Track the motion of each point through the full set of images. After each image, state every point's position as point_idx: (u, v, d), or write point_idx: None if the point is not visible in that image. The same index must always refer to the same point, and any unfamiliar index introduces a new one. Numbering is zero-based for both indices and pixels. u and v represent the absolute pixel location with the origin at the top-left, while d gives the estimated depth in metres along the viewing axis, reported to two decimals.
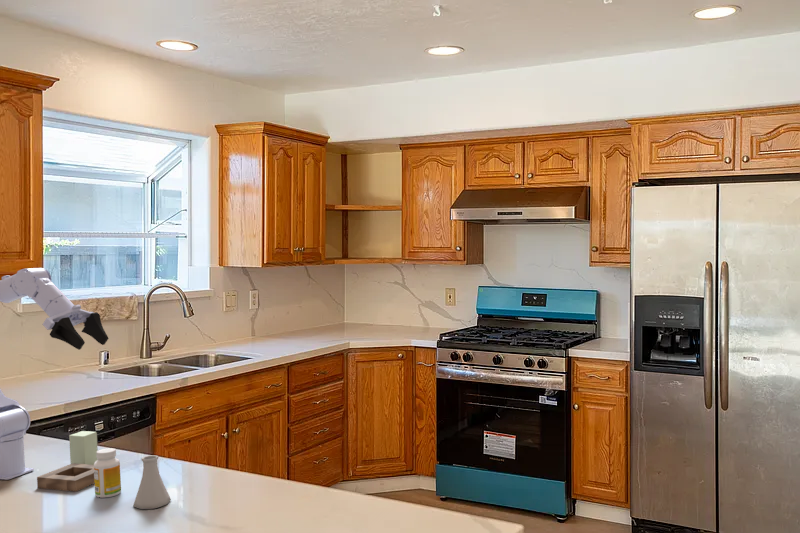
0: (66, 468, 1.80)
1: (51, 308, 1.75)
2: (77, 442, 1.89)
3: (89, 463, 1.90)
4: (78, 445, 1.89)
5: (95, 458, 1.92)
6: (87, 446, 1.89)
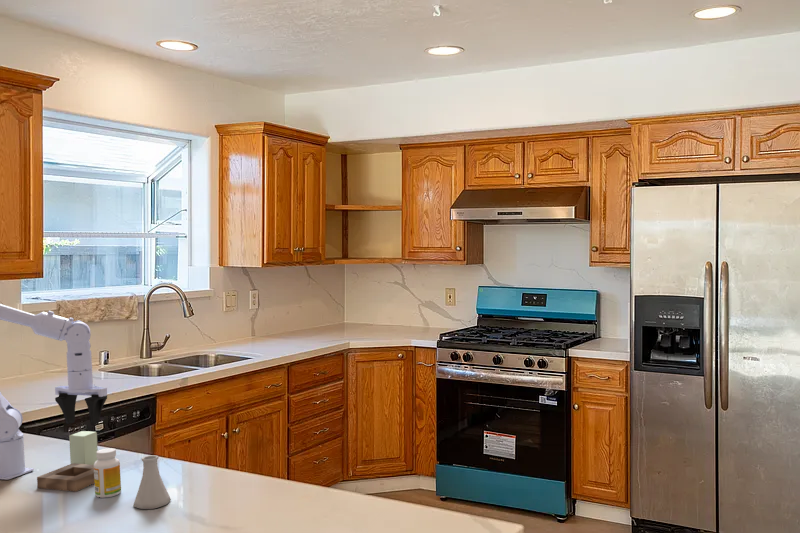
0: (66, 468, 1.80)
1: (90, 374, 1.90)
2: (77, 442, 1.89)
3: (89, 463, 1.90)
4: (78, 445, 1.89)
5: (95, 458, 1.92)
6: (87, 446, 1.89)
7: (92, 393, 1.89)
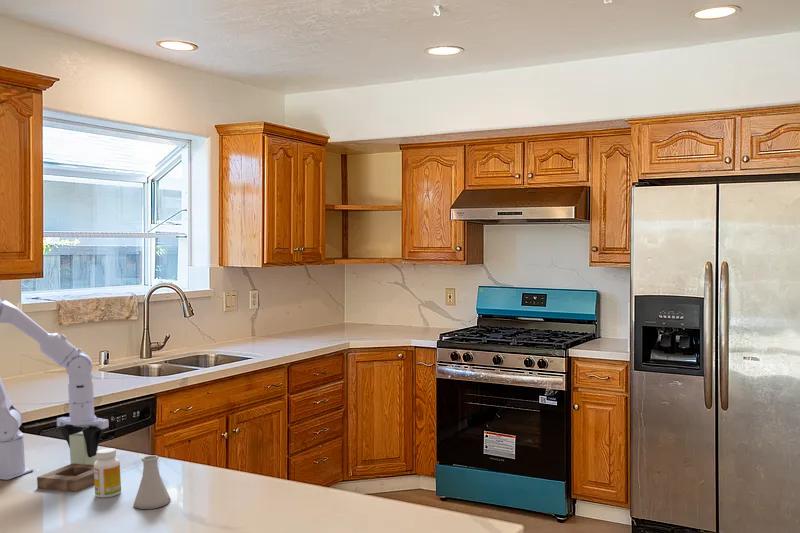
0: (66, 468, 1.80)
1: (91, 406, 1.90)
2: (77, 442, 1.89)
3: (89, 463, 1.90)
4: (78, 445, 1.89)
5: (95, 458, 1.92)
6: None
7: (94, 425, 1.90)
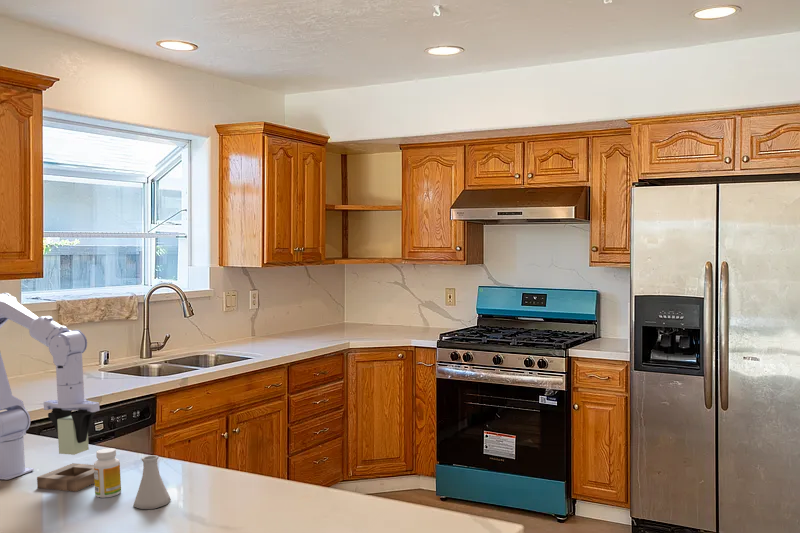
0: (66, 468, 1.80)
1: (81, 388, 1.77)
2: (66, 426, 1.76)
3: (79, 449, 1.77)
4: (67, 429, 1.75)
5: (85, 444, 1.79)
6: None
7: (83, 408, 1.76)
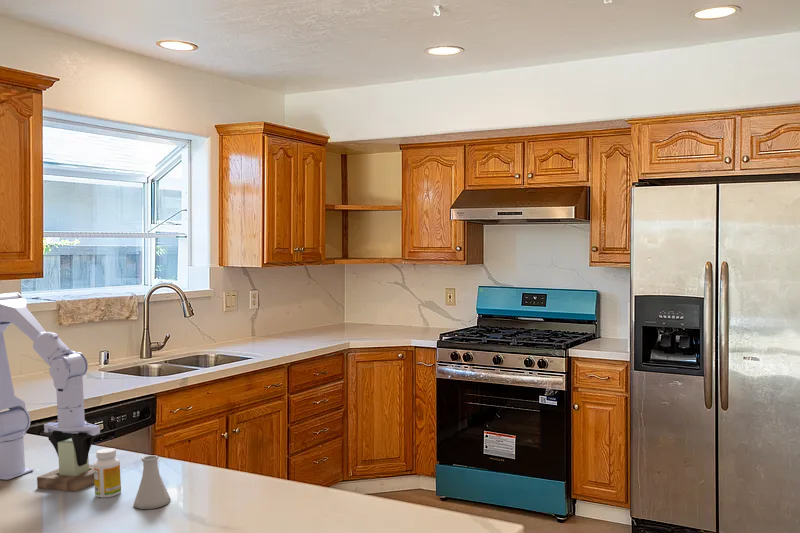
0: None
1: (81, 411, 1.76)
2: (67, 449, 1.75)
3: (79, 473, 1.76)
4: (68, 453, 1.75)
5: (86, 467, 1.78)
6: None
7: (84, 431, 1.75)
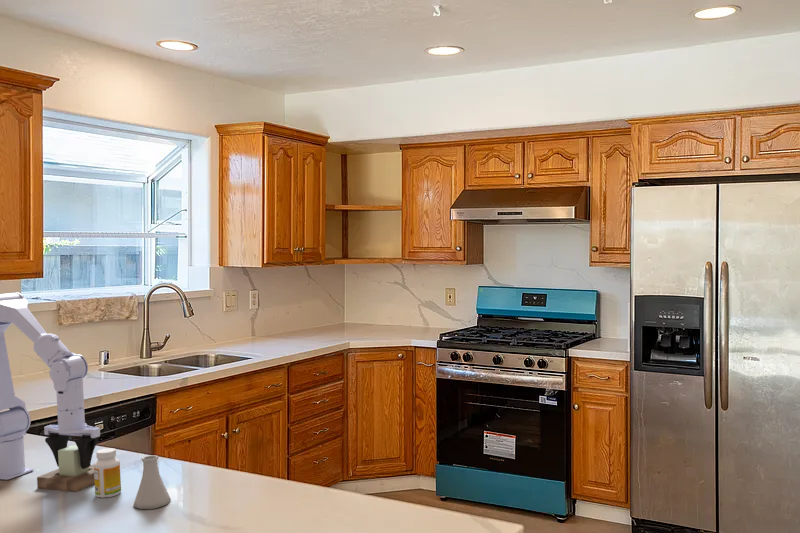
0: None
1: (81, 413, 1.76)
2: (67, 457, 1.75)
3: None
4: (68, 461, 1.75)
5: None
6: (77, 462, 1.75)
7: (84, 434, 1.75)
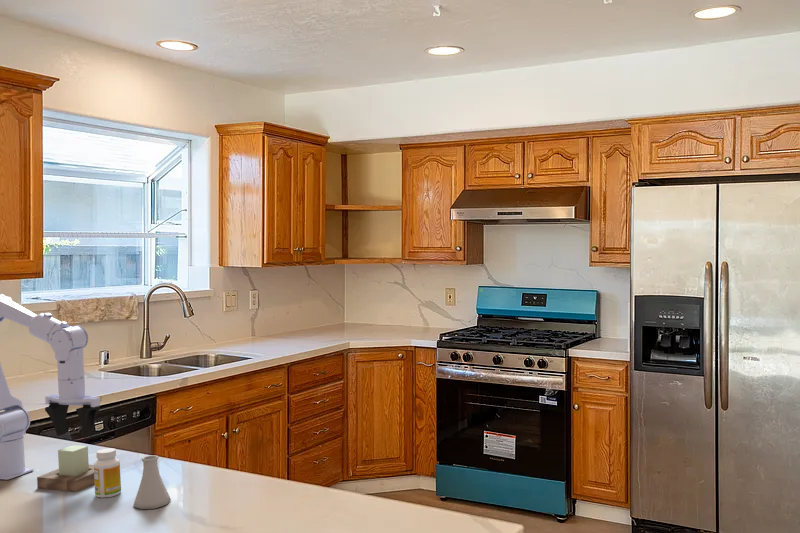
0: None
1: (82, 383, 1.78)
2: (67, 457, 1.75)
3: None
4: (68, 461, 1.75)
5: None
6: (77, 462, 1.75)
7: (84, 403, 1.78)
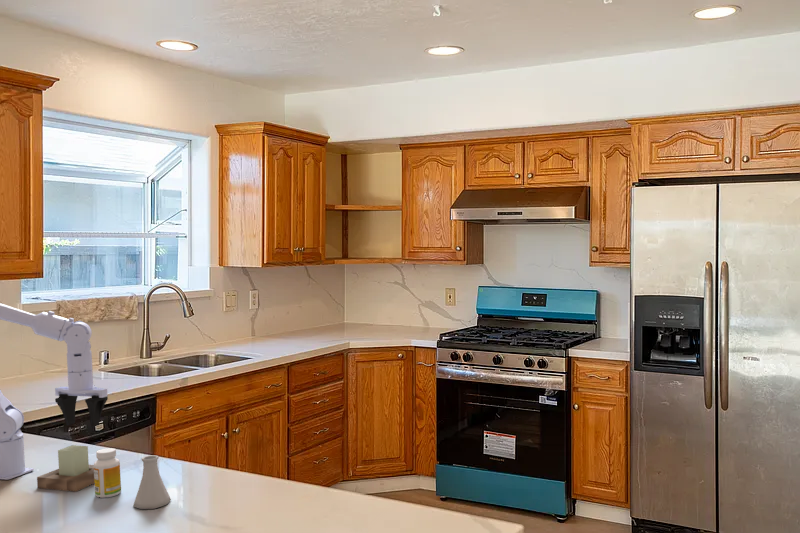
0: None
1: (90, 375, 1.89)
2: (67, 457, 1.75)
3: None
4: (68, 461, 1.75)
5: None
6: (77, 462, 1.75)
7: (92, 394, 1.88)
